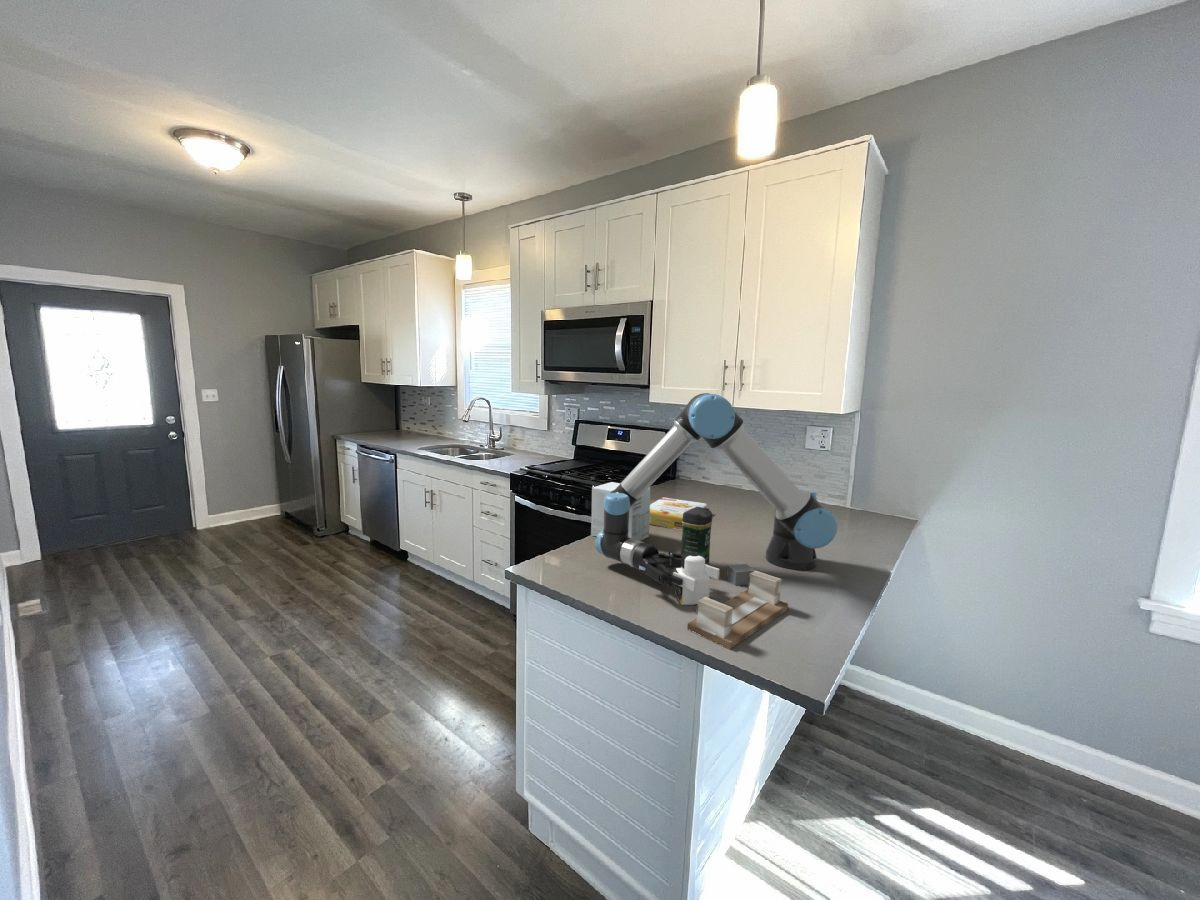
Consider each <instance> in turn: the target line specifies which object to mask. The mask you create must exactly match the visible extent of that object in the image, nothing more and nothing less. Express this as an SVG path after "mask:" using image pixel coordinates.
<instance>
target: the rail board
mask: <svg viewBox="0 0 1200 900" xmlns="http://www.w3.org/2000/svg"><path fill="white" fill-rule="evenodd" d="M747 585H748V589H746V590H744V591H743V592H741V593H739V594H737V595H735V596H734V597H732V598H730V599H729V600H726V601H725V602H719V601H717V600H715V599H711V598H710V597H709V598H707V597H704V598H702V599H700V600H698V603H697V605H695V607H696V610H695V614H696V618H695V619H692V620H691V621H689V622H687V626H686V627H687V629H690V630H691V631H690V632H692V631H694V632H696V633H698V634H700V635H702V636H704V637H706V638H705V639H707V638H708V639H707V640H709V639H710V640H709V641H711V640H712V642H713V641H715V642H717V643H719V644H721V645H723V646H722V647H724V646H725V647H724V648H727V649H728V648H729V650H731V648H732V647H733V648H734V646H735V645H736V644H737V645H739V644H740V643H742V642H743V641H744V639H745V638H746V639H748V638H749V637H750V636H752V635H753V634H754V633H753V632H755V631H756V632H757V631H759V630H760V629H761V627H762V628H763V627H764V625H765V626H766V625H768V624H769V623H771V622H772V621H773V620H774V619H776V618H778V617H779V616H780V615H782V614H783V613H785V612H786V611H788V610H789V603H787V602H784V601H781V589H782V578H779V577H776V576H774V575H770V574H767V573H764V572H761V571H758V570H755V571H754V572H752V573H750V576H749V579H748V584H747ZM771 620H772V621H771ZM758 629H759V630H758ZM694 632H693V633H694ZM756 632H755V633H756ZM696 633H695V634H696ZM752 633H753V634H752ZM698 634H697V635H698ZM751 634H752V635H751ZM700 635H699V636H700ZM749 635H750V636H749ZM702 636H701V637H702ZM748 636H749V637H748ZM704 637H703V638H704ZM746 639H745V640H746ZM742 640H743V641H742ZM741 641H742V642H741ZM715 642H714V643H715ZM739 642H740V643H739ZM717 643H716V644H717ZM738 643H739V644H738ZM719 644H718V645H719ZM721 645H720V646H721ZM737 645H736V646H737ZM736 646H735V647H736ZM733 648H732V649H733Z"/></svg>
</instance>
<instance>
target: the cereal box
mask: <svg viewBox="0 0 1200 900" xmlns="http://www.w3.org/2000/svg"><path fill="white" fill-rule="evenodd" d="M707 505H708V504H707V503H706V502H704V503H703V502H699V501H698V502H697V501H691V500H684V499H676V498H670V497H661V498H660V499H657V500H656V501H654V502H652V503H650V520H649V525H652V526H655V527H656V526H657V527H661V526H662V528H666V527H669V528H668V529H671V528H676V529H682V519H683V513H684V512H686V511H688V510H690V509H692V508H695V507H702V508H707V507H708V506H707ZM676 529H675V530H676Z"/></svg>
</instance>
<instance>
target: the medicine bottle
mask: <svg viewBox="0 0 1200 900" xmlns="http://www.w3.org/2000/svg"><path fill="white" fill-rule="evenodd" d="M705 559H706V558H705V557H704V556H703V555H702V554H699V553H696V552H688V553H684V554H683V555H682V559H681V568H675V572H676V573H679V574H681V575H684V576H687V577H689V578H692V579H695V580H696V591H691V590H689V589H686V588H684V587H681V586H679V585H676V584H674V585H675V586H674V594H675V596H676V597H677V599H678V602H679V603H680V605H681V606H696V605H695V604H697V603H698V600H700V599H702V598H704V597H707V598H710V589H711V588H710V587H711V586H710V584H711V577H708V575H707V574H706V573H705Z"/></svg>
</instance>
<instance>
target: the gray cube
mask: <svg viewBox="0 0 1200 900" xmlns="http://www.w3.org/2000/svg"><path fill="white" fill-rule="evenodd" d="M726 570H727V571H726V579H727V580H728V581H729V580H730V582H731V583H732V584H733V585H734V586H744V585H748V579H749V576H750V573H752V572H754V571H756V570H755V569H754V568H752V567H751V566H750V565H748V564H747V563H745V564H743V563H742V564H728V565H727V567H726Z"/></svg>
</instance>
